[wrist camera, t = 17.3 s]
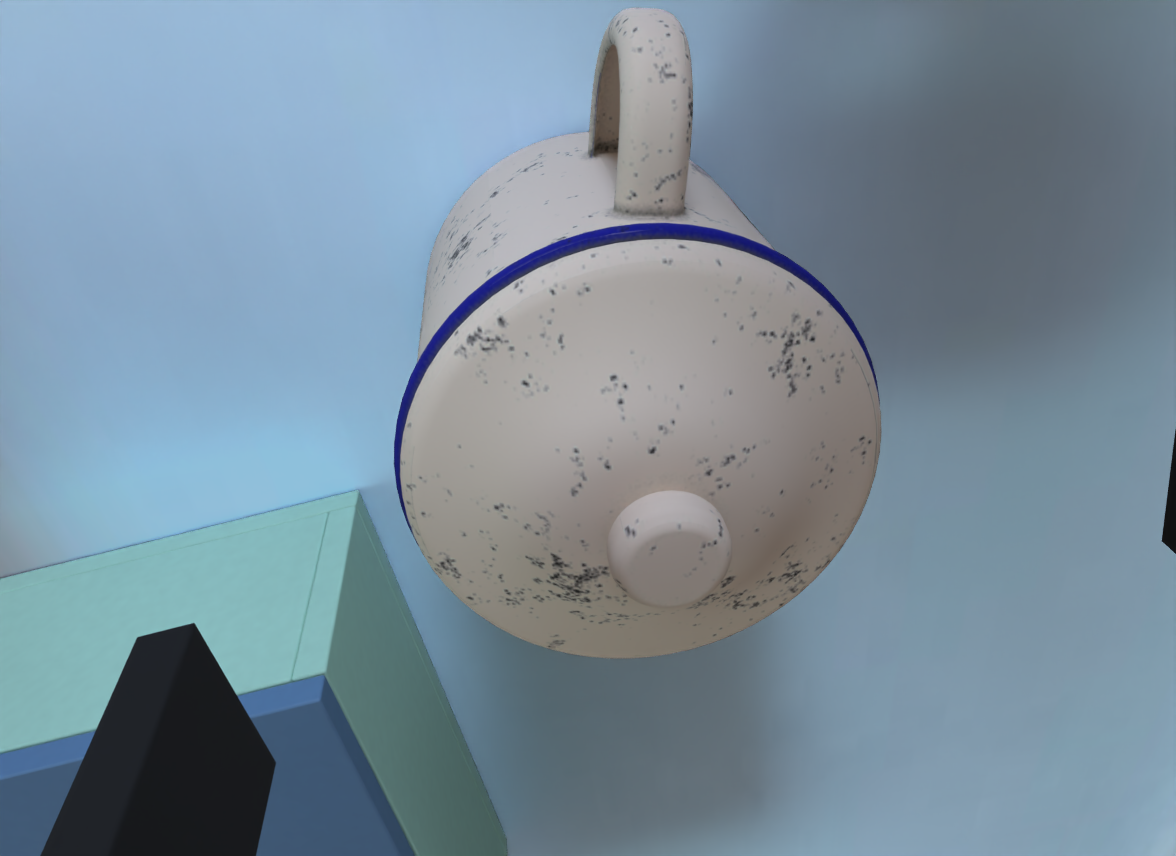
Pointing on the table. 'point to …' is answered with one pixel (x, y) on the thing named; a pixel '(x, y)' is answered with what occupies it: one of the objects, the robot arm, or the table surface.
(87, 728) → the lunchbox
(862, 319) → the table surface
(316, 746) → the lunchbox lid
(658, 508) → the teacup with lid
